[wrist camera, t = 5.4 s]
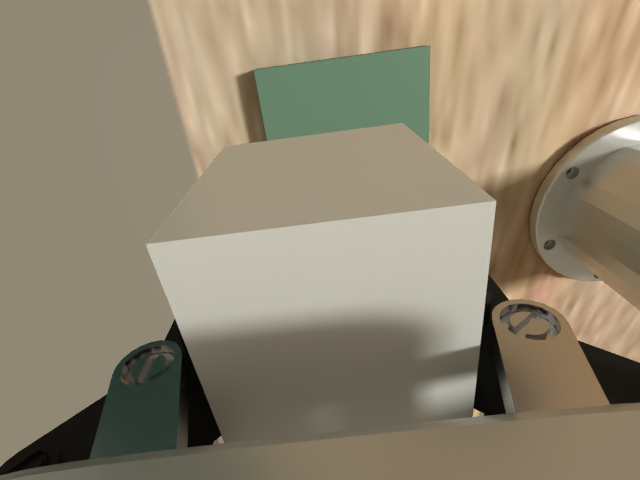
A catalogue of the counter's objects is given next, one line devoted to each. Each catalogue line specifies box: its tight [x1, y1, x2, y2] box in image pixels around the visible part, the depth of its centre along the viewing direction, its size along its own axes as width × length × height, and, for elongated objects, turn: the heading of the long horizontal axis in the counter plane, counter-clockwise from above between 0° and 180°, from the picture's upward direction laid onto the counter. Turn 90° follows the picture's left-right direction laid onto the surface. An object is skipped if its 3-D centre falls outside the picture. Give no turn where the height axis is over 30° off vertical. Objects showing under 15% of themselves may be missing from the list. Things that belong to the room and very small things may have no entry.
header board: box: [254, 46, 430, 144], centre depth 27 cm, size 24×10×1 cm, turn 7°
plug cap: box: [146, 123, 496, 443], centre depth 9 cm, size 8×5×6 cm, turn 7°
